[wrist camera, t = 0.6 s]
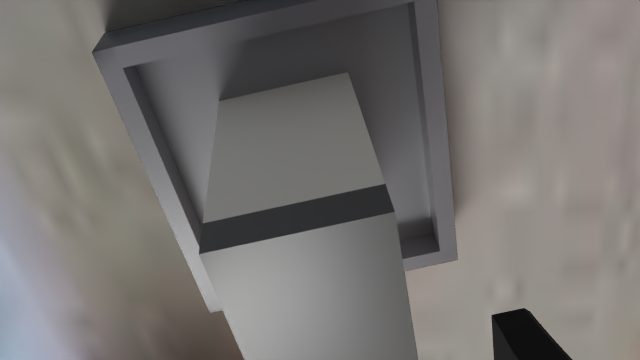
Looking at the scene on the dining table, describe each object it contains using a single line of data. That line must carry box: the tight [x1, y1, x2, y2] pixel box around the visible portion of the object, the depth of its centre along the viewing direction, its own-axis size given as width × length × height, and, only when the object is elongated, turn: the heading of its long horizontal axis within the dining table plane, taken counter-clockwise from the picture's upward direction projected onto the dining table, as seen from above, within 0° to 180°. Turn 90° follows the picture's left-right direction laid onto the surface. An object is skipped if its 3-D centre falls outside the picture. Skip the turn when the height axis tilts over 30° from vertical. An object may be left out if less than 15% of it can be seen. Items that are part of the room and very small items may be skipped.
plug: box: [199, 72, 418, 360], centre depth 15 cm, size 4×5×7 cm
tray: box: [92, 0, 458, 312], centre depth 18 cm, size 9×10×2 cm
